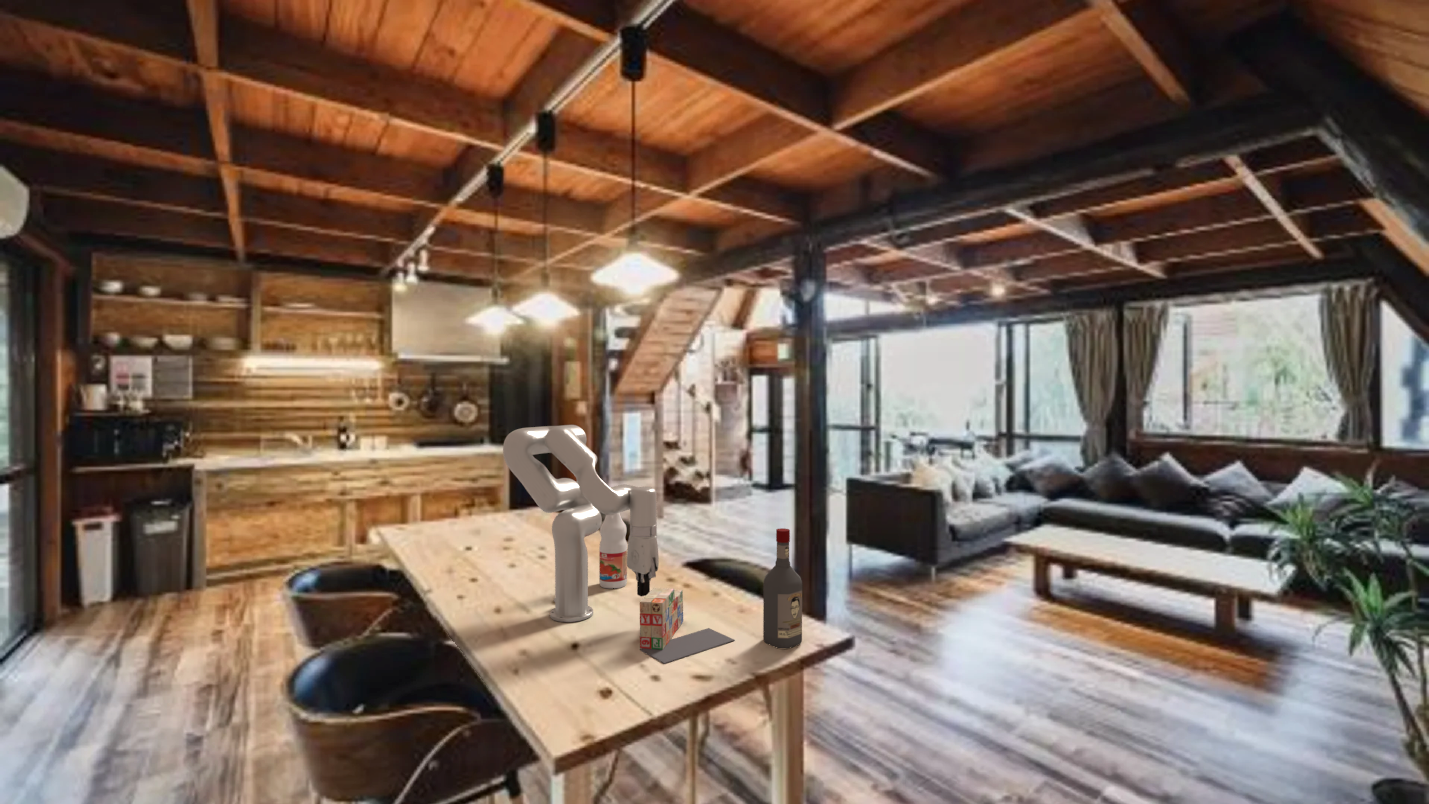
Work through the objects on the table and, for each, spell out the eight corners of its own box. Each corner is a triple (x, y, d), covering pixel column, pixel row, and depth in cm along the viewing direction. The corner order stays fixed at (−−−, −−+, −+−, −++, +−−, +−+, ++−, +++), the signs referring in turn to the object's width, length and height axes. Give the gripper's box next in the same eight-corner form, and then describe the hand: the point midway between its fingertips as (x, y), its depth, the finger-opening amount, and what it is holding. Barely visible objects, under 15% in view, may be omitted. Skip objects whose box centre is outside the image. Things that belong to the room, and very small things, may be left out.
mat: (639, 650, 165) (639, 648, 165) (708, 629, 179) (708, 628, 179) (664, 664, 156) (664, 662, 156) (734, 640, 171) (734, 639, 171)
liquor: (758, 640, 171) (758, 529, 171) (782, 632, 177) (782, 524, 177) (782, 651, 164) (783, 535, 164) (806, 642, 170) (807, 530, 170)
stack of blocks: (662, 620, 186) (662, 578, 186) (683, 621, 185) (683, 579, 185) (639, 648, 165) (639, 600, 165) (663, 650, 164) (662, 602, 164)
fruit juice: (632, 584, 221) (632, 503, 220) (612, 591, 213) (612, 507, 213) (614, 579, 227) (614, 500, 226) (593, 585, 219) (593, 504, 219)
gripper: (618, 528, 185) (618, 591, 186) (647, 537, 174) (647, 604, 174) (640, 525, 190) (640, 586, 190) (669, 533, 179) (669, 598, 179)
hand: (643, 594), depth 182 cm, fingers closed
